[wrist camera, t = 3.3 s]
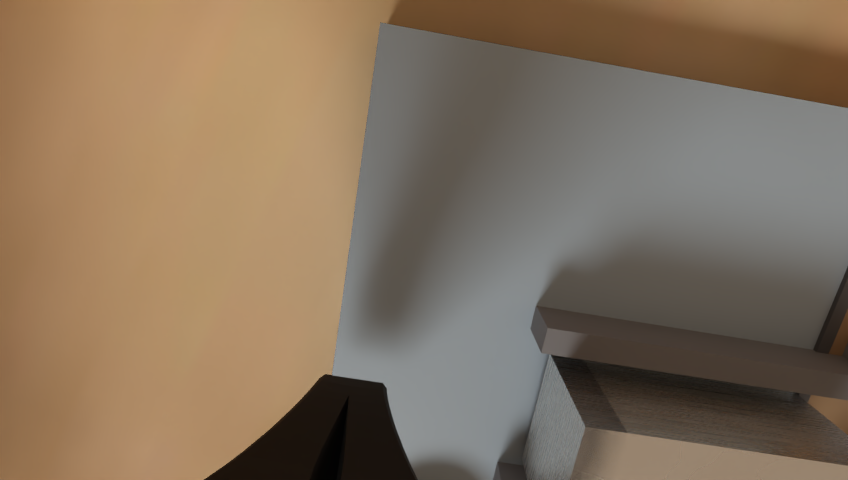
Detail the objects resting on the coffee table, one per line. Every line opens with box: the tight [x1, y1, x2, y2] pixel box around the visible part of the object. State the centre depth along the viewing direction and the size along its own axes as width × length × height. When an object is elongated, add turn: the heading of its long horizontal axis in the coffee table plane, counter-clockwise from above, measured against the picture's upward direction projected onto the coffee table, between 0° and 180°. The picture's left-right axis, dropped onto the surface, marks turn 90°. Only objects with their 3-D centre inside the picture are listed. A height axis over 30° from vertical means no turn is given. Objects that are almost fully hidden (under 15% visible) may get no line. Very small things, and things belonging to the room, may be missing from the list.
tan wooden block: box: [522, 354, 848, 480], centre depth 11 cm, size 6×3×3 cm, turn 80°
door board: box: [332, 23, 848, 480], centre depth 12 cm, size 16×16×4 cm
